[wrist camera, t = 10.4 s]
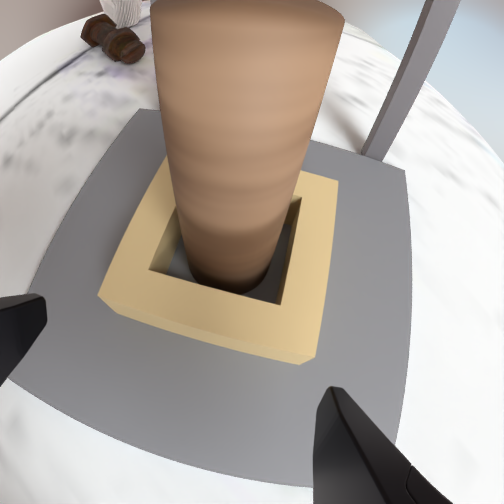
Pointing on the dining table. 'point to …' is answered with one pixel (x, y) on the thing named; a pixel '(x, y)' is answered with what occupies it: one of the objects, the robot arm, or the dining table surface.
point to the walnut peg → (238, 122)
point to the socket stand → (234, 303)
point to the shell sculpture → (122, 11)
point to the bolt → (113, 39)
